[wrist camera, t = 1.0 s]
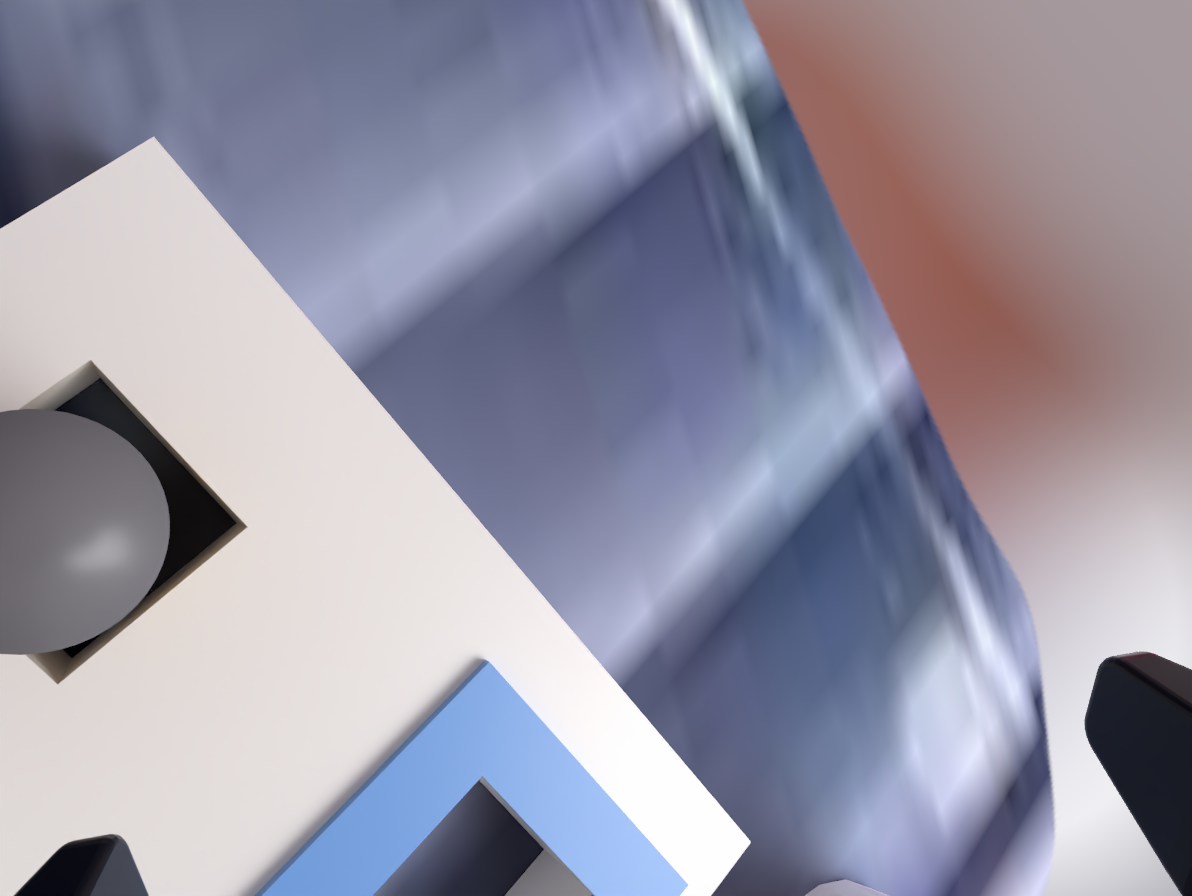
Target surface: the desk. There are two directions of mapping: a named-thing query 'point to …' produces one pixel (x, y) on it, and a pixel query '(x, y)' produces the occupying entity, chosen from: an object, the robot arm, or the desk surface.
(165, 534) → the grey-capped tan cylinder
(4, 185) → the desk surface
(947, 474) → the desk surface
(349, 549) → the block
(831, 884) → the white cylinder
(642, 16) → the desk surface
